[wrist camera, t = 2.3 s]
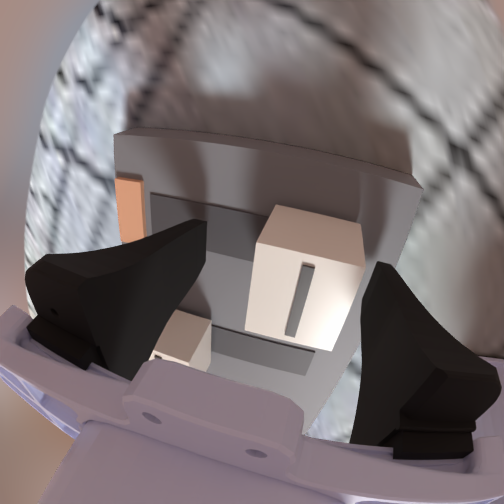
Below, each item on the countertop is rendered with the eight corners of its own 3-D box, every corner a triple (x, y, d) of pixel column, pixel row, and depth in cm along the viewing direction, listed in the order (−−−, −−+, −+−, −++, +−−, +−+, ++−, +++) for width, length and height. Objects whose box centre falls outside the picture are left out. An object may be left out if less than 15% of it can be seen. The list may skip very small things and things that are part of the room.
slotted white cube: (360, 224, 12) (365, 269, 9) (335, 299, 14) (331, 352, 11) (275, 204, 12) (255, 243, 9) (263, 282, 14) (243, 332, 11)
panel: (412, 175, 12) (425, 192, 10) (304, 422, 24) (300, 443, 23) (136, 127, 14) (109, 135, 12) (163, 381, 27) (153, 398, 25)
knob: (211, 320, 17) (188, 364, 14) (210, 362, 19) (191, 402, 16) (156, 303, 17) (127, 341, 14) (162, 345, 19) (140, 381, 16)
